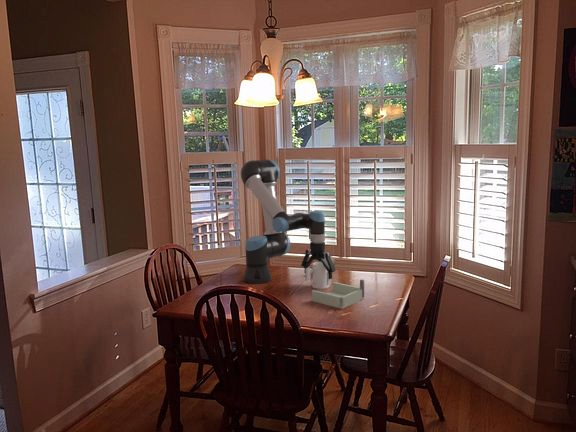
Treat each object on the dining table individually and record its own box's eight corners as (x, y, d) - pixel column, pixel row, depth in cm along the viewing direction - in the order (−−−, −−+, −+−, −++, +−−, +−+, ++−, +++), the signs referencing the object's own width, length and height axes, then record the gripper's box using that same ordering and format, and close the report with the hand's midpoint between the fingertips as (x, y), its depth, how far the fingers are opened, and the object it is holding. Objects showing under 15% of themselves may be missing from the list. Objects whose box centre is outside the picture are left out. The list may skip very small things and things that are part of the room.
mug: (314, 291, 234) (313, 267, 232) (303, 287, 241) (303, 264, 239) (332, 286, 241) (332, 263, 239) (321, 282, 248) (321, 260, 246)
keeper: (312, 301, 220) (311, 282, 218) (334, 291, 233) (334, 273, 231) (343, 309, 208) (342, 289, 207) (365, 298, 221) (365, 280, 220)
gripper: (293, 240, 243) (294, 279, 246) (333, 246, 226) (333, 288, 229) (303, 237, 248) (304, 276, 251) (342, 243, 232) (342, 285, 235)
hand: (318, 282), depth 240 cm, fingers open, 13 cm apart
